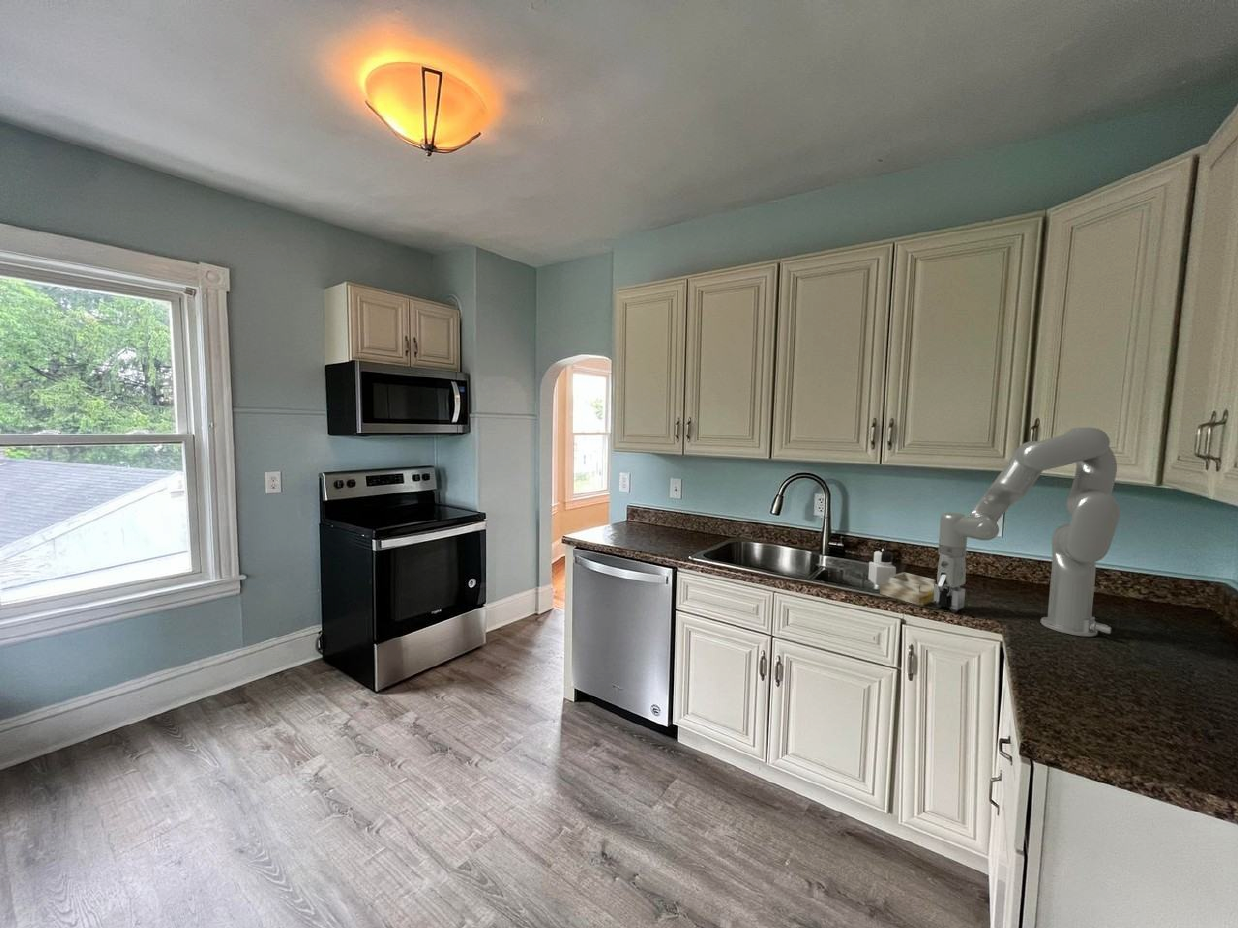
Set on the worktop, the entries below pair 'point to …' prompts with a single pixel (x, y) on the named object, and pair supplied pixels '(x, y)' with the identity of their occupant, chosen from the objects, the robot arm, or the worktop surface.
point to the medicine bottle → (881, 568)
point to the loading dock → (909, 588)
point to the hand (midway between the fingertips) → (948, 604)
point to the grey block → (956, 598)
